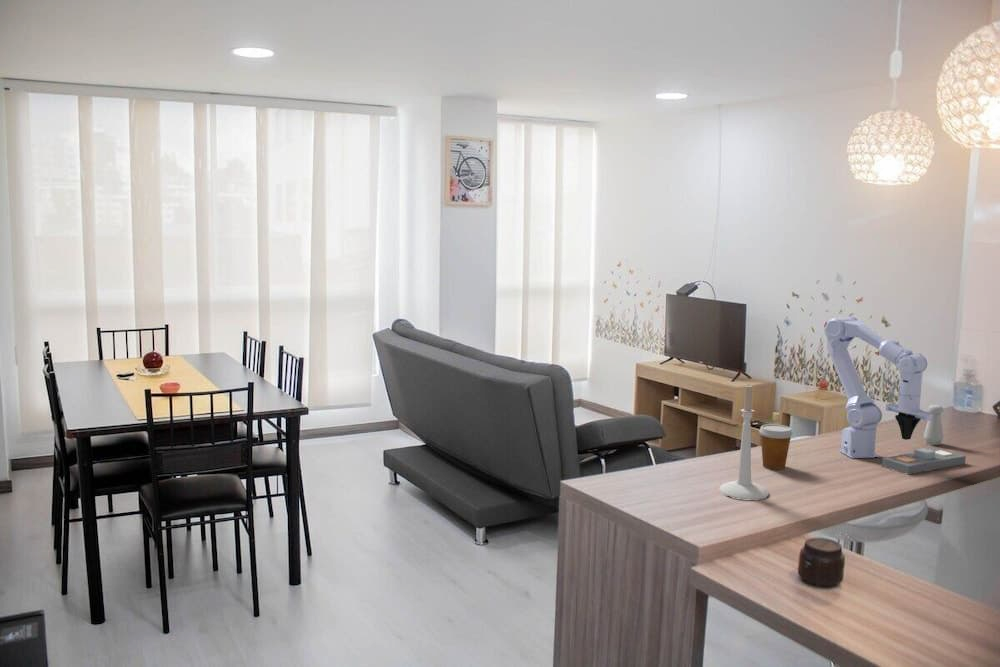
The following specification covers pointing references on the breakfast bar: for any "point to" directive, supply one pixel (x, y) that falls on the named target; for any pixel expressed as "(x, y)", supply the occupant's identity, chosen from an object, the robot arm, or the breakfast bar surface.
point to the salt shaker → (934, 426)
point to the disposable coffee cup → (775, 445)
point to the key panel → (923, 462)
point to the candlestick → (745, 460)
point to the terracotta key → (905, 459)
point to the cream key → (943, 453)
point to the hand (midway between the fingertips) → (906, 438)
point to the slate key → (924, 454)
